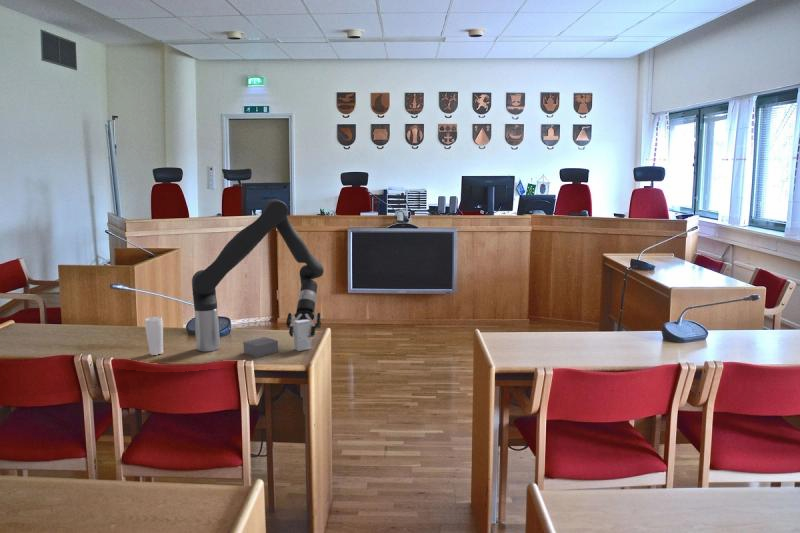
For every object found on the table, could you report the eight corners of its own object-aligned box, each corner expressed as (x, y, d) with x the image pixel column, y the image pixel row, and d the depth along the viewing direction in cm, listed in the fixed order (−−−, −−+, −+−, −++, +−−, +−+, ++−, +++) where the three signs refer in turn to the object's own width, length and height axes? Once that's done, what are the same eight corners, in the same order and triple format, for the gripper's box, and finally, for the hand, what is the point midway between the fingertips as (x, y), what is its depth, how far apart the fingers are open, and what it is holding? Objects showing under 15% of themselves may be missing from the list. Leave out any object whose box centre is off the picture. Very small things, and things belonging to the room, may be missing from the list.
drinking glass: (148, 357, 265) (145, 321, 263) (146, 353, 271) (143, 318, 269) (166, 354, 268) (163, 319, 266) (164, 350, 274) (161, 316, 272)
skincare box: (298, 351, 268) (297, 322, 266) (293, 349, 271) (292, 320, 269) (312, 348, 271) (310, 320, 269) (307, 346, 275) (306, 318, 273)
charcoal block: (244, 353, 268) (243, 341, 267) (264, 348, 275) (264, 336, 274) (257, 358, 261) (256, 346, 260) (278, 352, 268) (277, 340, 267)
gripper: (288, 298, 276) (282, 331, 267) (321, 297, 275) (316, 331, 265) (292, 307, 282) (286, 340, 273) (324, 307, 281) (320, 340, 271)
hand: (301, 335), depth 269 cm, fingers open, 8 cm apart
